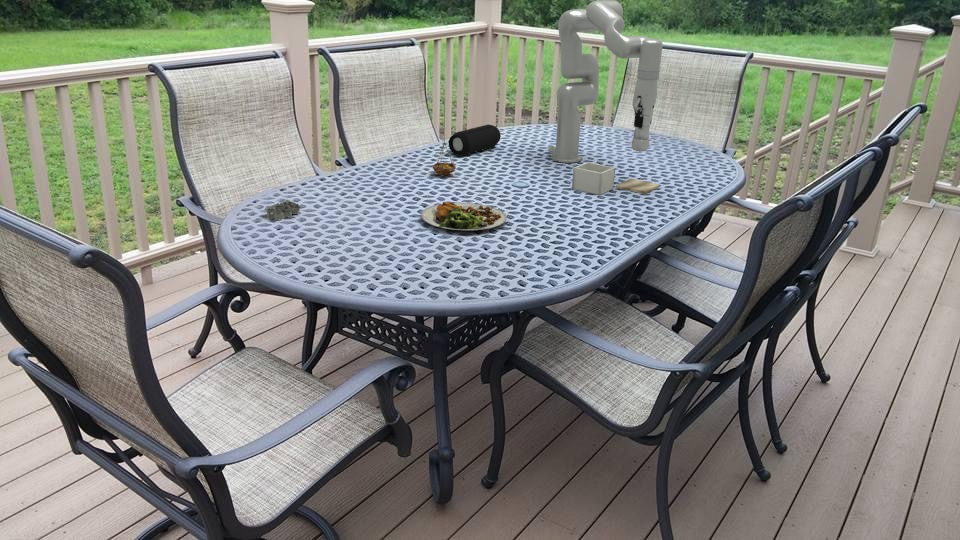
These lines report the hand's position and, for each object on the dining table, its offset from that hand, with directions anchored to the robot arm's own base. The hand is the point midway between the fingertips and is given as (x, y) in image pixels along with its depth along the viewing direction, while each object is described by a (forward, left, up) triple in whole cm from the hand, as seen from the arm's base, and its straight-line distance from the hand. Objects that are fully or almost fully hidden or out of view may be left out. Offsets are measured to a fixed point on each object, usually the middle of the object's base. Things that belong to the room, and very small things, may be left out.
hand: (642, 125), depth 289 cm
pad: (+1, 0, -24) cm, 24 cm away
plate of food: (-26, -72, -24) cm, 80 cm away
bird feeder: (-63, -36, -24) cm, 76 cm away
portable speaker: (-77, +2, -24) cm, 81 cm away
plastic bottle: (0, 0, -10) cm, 10 cm away
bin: (-11, -13, -24) cm, 29 cm away
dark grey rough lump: (-73, -107, -24) cm, 131 cm away
